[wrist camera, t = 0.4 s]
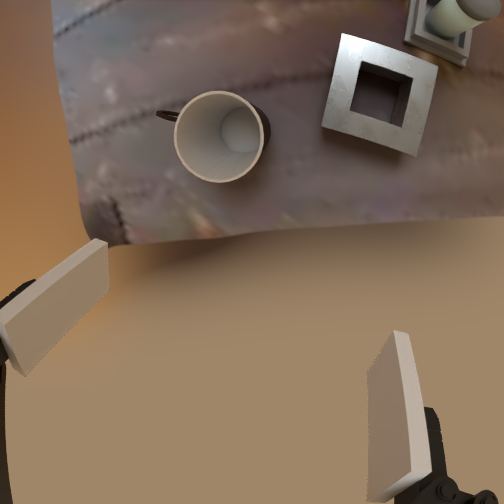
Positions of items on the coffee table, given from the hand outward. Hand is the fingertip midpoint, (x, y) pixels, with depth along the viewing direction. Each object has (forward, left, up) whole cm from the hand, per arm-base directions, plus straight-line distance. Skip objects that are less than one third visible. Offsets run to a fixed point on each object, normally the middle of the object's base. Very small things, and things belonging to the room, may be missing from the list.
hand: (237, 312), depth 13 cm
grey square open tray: (-24, +12, -27) cm, 38 cm away
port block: (-12, +6, -27) cm, 30 cm away
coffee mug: (-5, -9, -27) cm, 29 cm away
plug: (-24, +12, -26) cm, 38 cm away
